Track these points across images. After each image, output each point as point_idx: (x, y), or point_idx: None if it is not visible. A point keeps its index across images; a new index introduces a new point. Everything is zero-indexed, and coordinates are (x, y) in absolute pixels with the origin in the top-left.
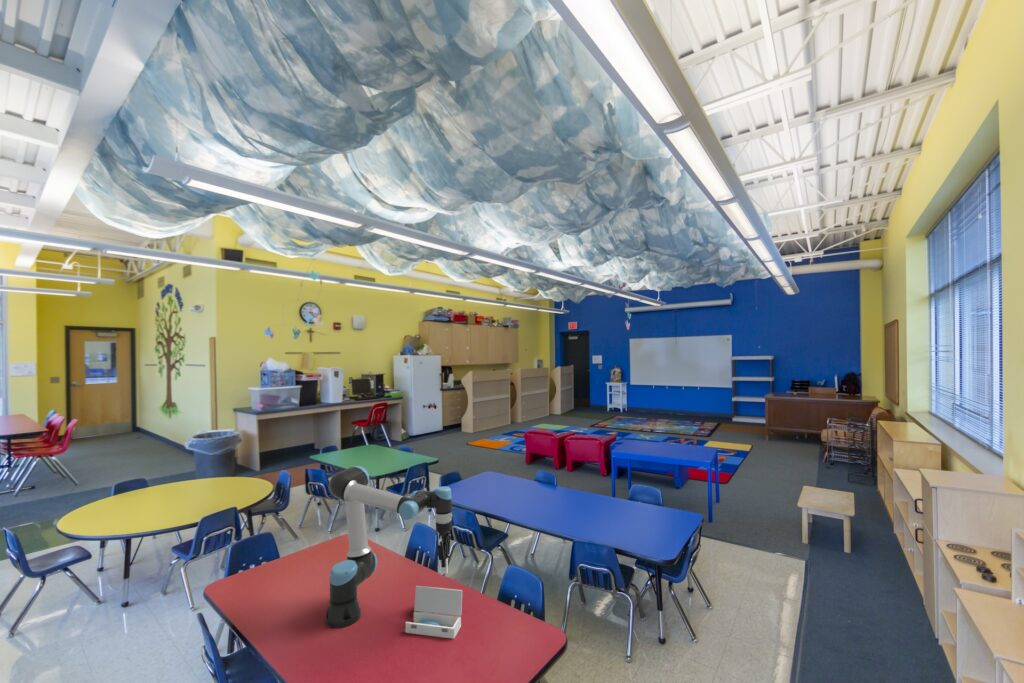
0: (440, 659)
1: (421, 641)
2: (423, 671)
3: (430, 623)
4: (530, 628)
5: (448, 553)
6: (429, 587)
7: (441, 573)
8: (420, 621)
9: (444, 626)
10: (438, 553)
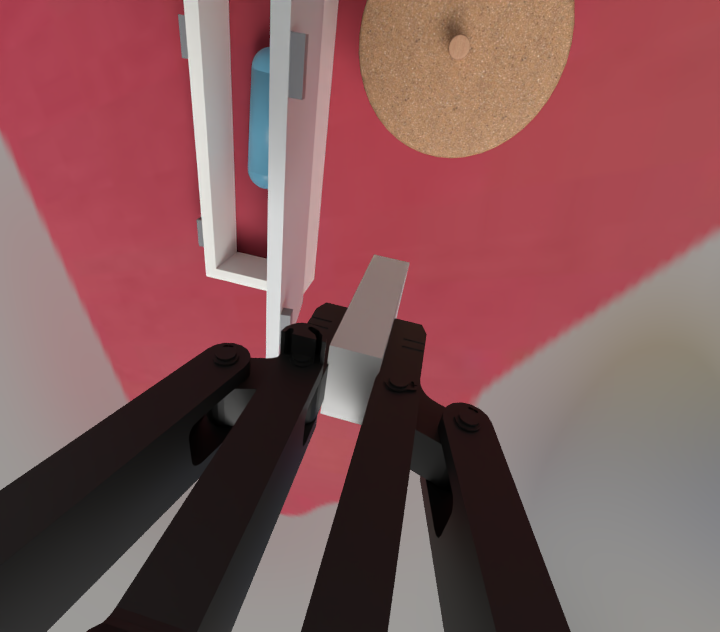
0: (107, 223)
1: (174, 109)
2: (31, 171)
3: (251, 139)
4: (326, 476)
5: (420, 478)
6: (269, 130)
7: (374, 257)
8: (258, 65)
9: (211, 231)
10: (93, 431)
